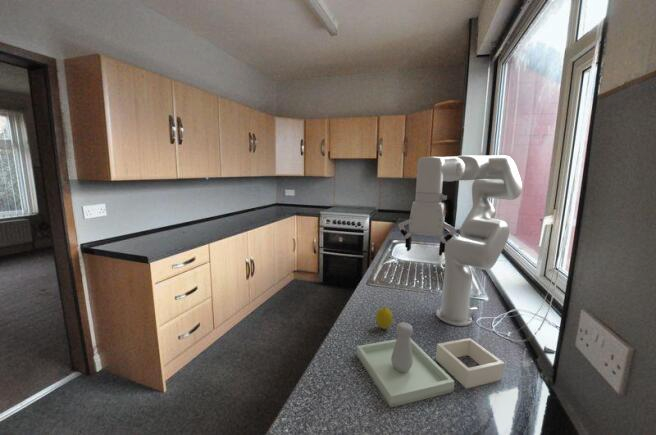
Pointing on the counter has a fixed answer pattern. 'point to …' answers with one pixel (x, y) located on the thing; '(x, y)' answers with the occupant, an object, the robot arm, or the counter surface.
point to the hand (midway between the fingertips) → (424, 252)
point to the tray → (404, 374)
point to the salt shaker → (403, 348)
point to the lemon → (384, 317)
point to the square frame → (466, 376)
